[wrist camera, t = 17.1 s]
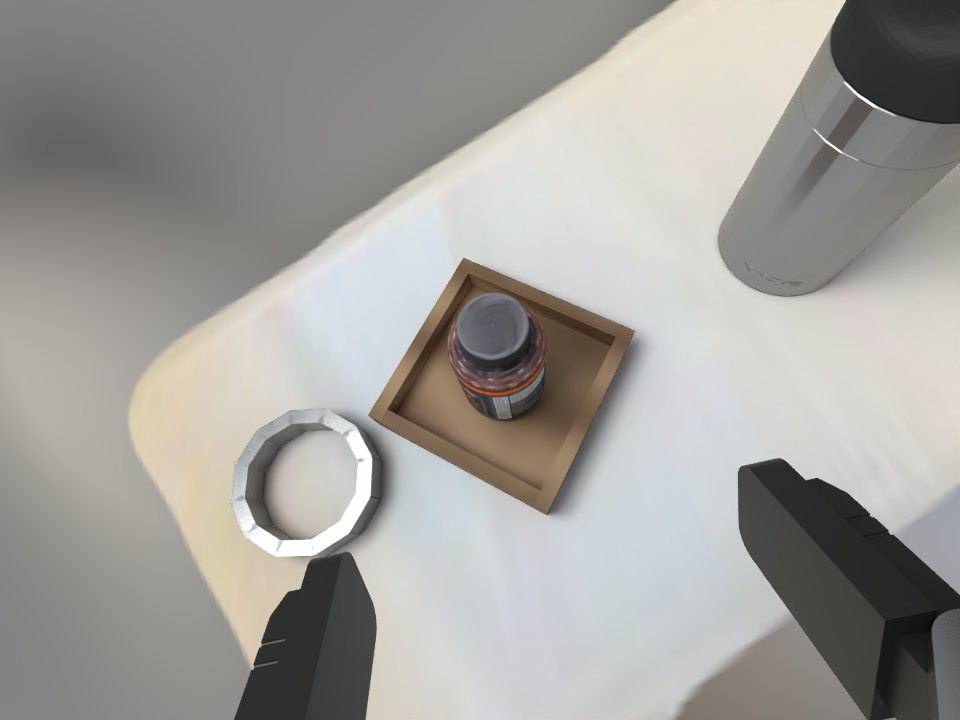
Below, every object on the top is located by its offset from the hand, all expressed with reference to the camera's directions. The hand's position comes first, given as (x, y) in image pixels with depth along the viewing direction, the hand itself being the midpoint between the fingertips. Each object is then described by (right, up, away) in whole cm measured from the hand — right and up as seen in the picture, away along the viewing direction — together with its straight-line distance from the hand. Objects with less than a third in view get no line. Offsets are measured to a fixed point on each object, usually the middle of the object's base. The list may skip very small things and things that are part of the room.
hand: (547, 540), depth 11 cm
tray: (0, +2, +29) cm, 29 cm away
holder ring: (-14, -5, +28) cm, 32 cm away
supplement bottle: (0, +2, +28) cm, 28 cm away
